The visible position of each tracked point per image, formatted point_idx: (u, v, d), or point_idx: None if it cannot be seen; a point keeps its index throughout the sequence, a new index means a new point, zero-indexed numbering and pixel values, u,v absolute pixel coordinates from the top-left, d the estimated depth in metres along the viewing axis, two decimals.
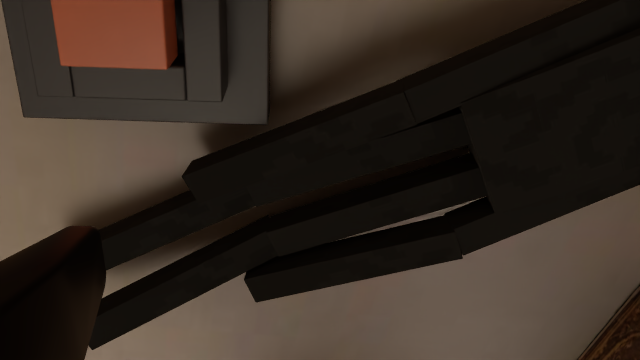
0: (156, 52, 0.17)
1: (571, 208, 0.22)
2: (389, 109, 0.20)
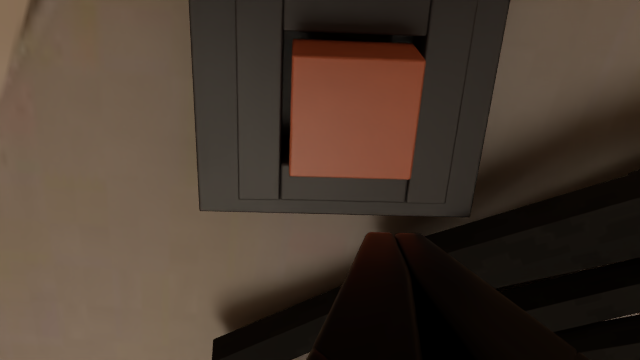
0: (401, 161, 0.15)
1: None
2: (632, 210, 0.17)
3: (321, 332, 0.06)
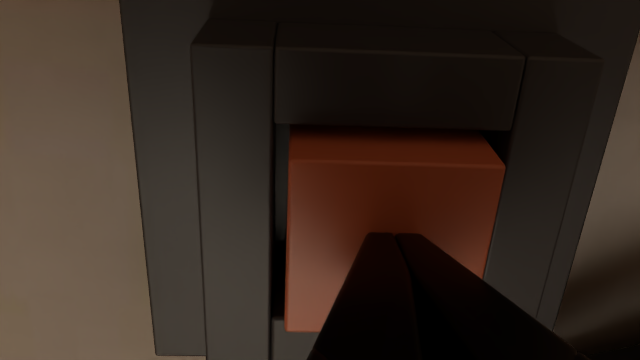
0: None
1: None
2: None
3: (321, 332, 0.06)
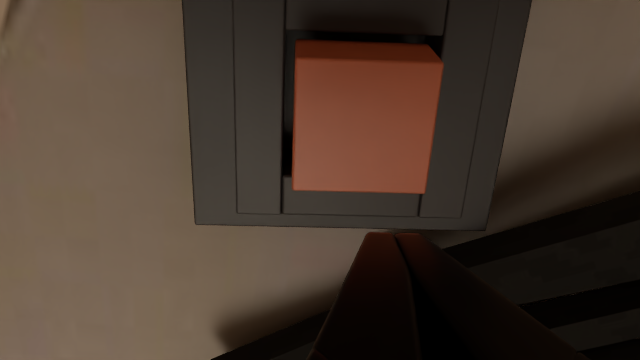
0: (415, 174, 0.14)
1: None
2: None
3: (321, 332, 0.06)
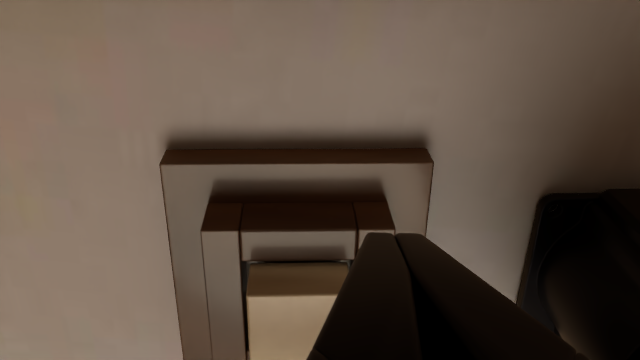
0: None
1: None
2: None
3: (321, 332, 0.06)
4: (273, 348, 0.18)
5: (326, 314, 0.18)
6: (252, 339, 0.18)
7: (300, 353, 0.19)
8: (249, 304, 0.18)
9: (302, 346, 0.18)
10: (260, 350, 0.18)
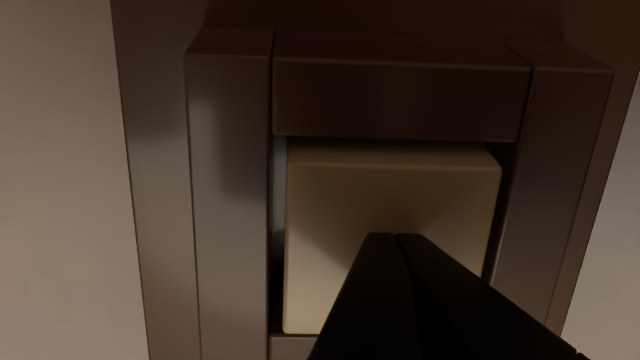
0: None
1: None
2: None
3: (321, 332, 0.06)
4: (332, 282, 0.09)
5: (446, 213, 0.09)
6: (292, 261, 0.09)
7: None
8: (292, 182, 0.09)
9: None
10: (306, 286, 0.09)
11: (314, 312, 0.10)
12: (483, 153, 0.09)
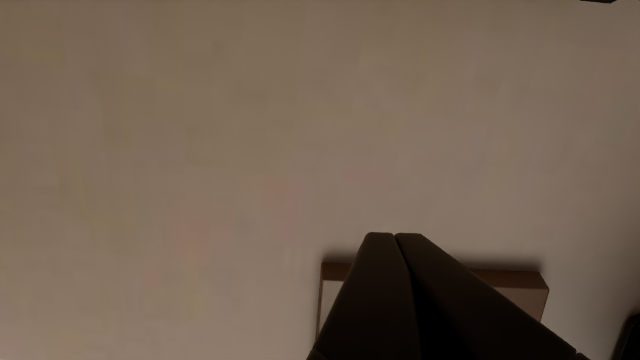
0: None
1: None
2: None
3: (321, 332, 0.06)
4: None
5: None
6: None
7: None
8: None
9: None
10: None
11: None
12: None
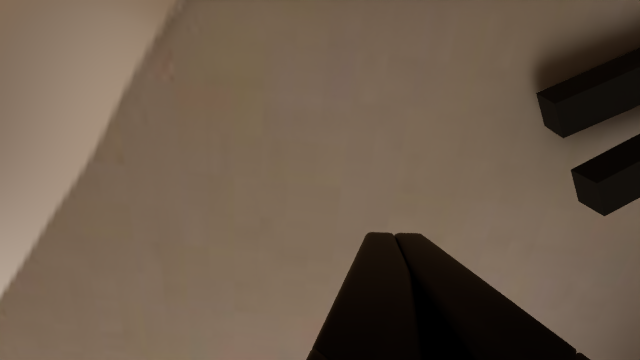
0: None
1: None
2: None
3: (321, 332, 0.06)
4: None
5: None
6: None
7: None
8: None
9: None
10: None
11: None
12: None
